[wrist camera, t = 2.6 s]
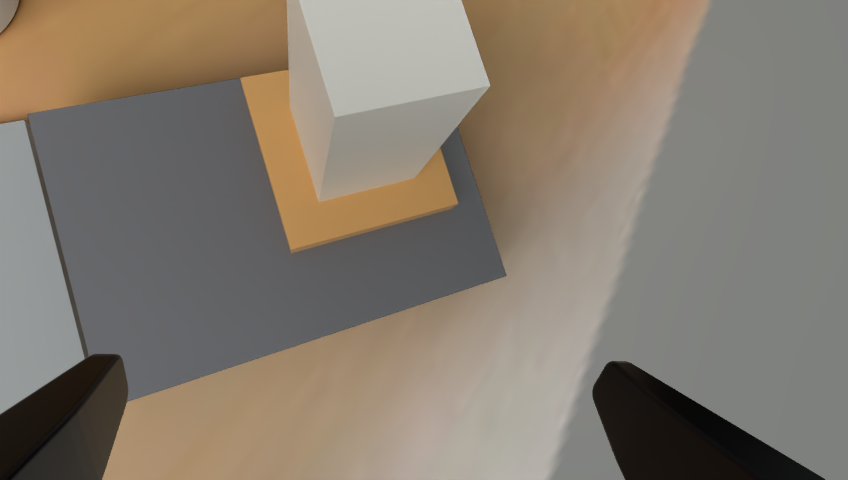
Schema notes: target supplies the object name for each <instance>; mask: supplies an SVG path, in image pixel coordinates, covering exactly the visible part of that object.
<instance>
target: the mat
mask: <svg viewBox="0 0 848 480" xmlns="http://www.w3.org/2000/svg"><path fill="white" fill-rule="evenodd" d="M88 356H89V354H88V350H87V346H86V342H85V338H84V334H83V330H82V326H81V323H80V319H79V315H78V311H77V307H76V303H75V299H74V295H73V291H72V287H71V283H70V279H69V275H68V271H67V268H66V264H65V260H64V256H63V252H62V248H61V244H60V240H59V236H58V232H57V228H56V224H55V220H54V216H53V213H52V209H51V205H50V201H49V197H48V193H47V189H46V185H45V181H44V177H43V173H42V169H41V165H40V161H39V158H38V154H37V150H36V146H35V142H34V138H33V134H32V130H31V126H30V124H29V123H28V122H26V121H25V120H21V121H15V122H9V123H3V124H0V414H1V413H3V412H4V411H6V410H7V409H9V408H10V407H12V406H13V405H15V404H16V403H18V402H19V401H21V400H22V399H24V398H25V397H27V396H29V395H30V394H32V393H33V392H35V391H36V390H38V389H39V388H41V387H42V386H44V385H45V384H47V383H48V382H50V381H51V380H53V379H55V378H56V377H58V376H59V375H61V374H62V373H64V372H65V371H67V370H68V369H70V368H71V367H73V366H74V365H76V364H77V363H79V362H81V361H82V360H84V359H85V358H87V357H88Z"/></svg>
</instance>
